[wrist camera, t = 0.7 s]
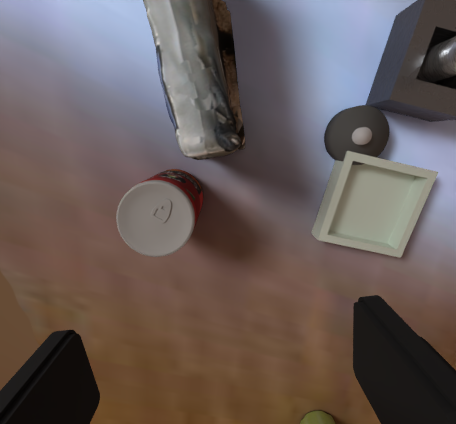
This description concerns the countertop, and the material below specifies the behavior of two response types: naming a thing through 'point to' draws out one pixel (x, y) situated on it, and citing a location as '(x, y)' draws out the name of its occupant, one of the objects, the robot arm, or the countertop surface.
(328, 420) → the plant pot
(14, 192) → the countertop surface
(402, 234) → the parts tray
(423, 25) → the block
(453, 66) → the pin
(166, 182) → the canned food
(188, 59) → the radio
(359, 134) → the wheel
